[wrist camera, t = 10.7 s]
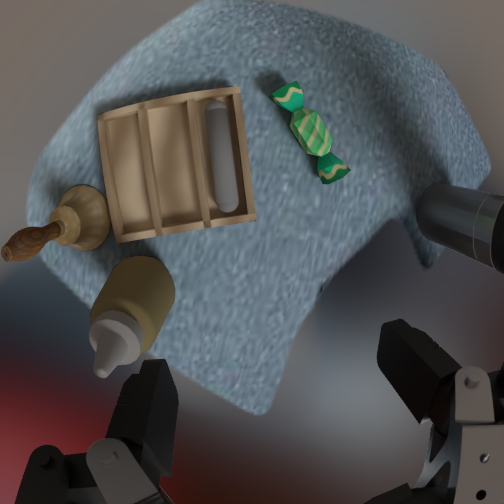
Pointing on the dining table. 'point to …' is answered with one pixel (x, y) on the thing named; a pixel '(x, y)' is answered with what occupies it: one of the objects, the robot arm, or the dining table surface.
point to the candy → (310, 132)
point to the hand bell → (65, 225)
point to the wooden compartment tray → (170, 165)
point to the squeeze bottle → (129, 312)
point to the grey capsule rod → (221, 156)
